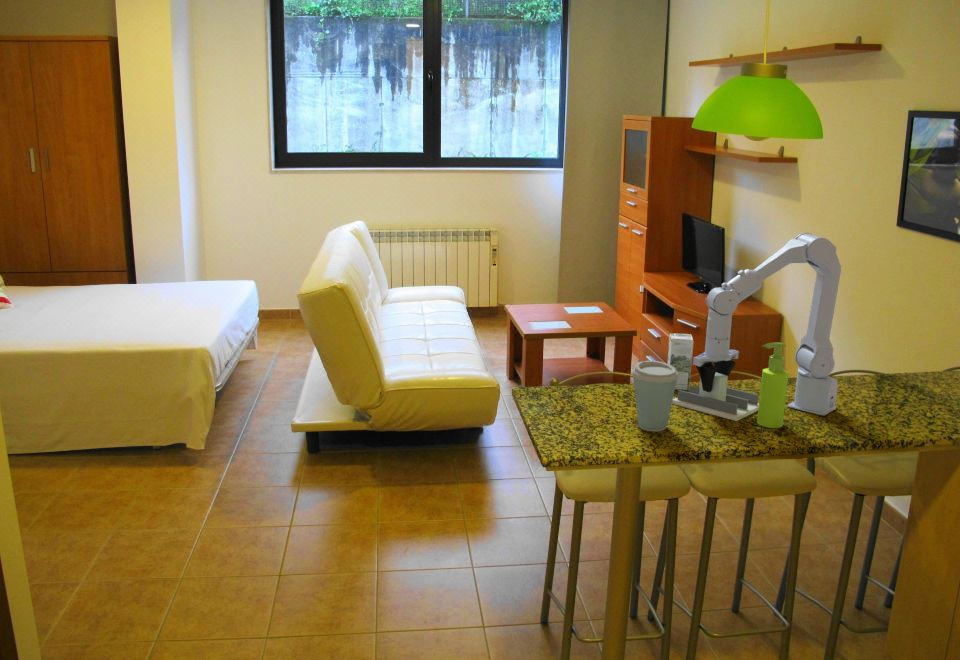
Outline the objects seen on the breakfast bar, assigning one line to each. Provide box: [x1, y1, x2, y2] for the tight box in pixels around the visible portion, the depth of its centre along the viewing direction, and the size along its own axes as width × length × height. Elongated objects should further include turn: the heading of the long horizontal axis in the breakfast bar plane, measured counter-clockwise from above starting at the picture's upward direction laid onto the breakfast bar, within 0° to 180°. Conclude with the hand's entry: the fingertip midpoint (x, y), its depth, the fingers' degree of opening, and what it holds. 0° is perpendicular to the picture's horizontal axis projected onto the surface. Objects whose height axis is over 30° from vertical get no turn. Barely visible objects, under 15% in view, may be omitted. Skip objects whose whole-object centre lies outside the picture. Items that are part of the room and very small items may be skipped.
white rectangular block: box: [699, 372, 729, 401], centre depth 224 cm, size 6×3×8 cm, turn 35°
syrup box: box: [666, 333, 694, 392], centre depth 239 cm, size 6×6×14 cm
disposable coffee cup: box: [631, 359, 678, 433], centre depth 209 cm, size 11×11×15 cm
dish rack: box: [672, 384, 760, 422], centre depth 227 cm, size 18×14×4 cm
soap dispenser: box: [756, 341, 790, 429], centre depth 212 cm, size 6×7×20 cm
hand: (713, 389), depth 224 cm, fingers open, 4 cm apart
